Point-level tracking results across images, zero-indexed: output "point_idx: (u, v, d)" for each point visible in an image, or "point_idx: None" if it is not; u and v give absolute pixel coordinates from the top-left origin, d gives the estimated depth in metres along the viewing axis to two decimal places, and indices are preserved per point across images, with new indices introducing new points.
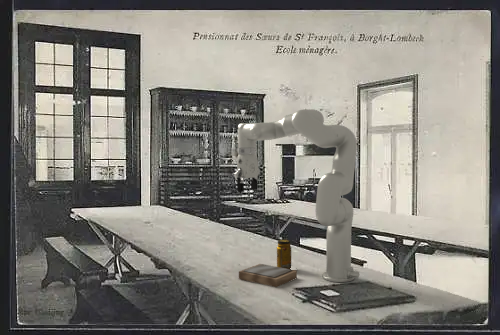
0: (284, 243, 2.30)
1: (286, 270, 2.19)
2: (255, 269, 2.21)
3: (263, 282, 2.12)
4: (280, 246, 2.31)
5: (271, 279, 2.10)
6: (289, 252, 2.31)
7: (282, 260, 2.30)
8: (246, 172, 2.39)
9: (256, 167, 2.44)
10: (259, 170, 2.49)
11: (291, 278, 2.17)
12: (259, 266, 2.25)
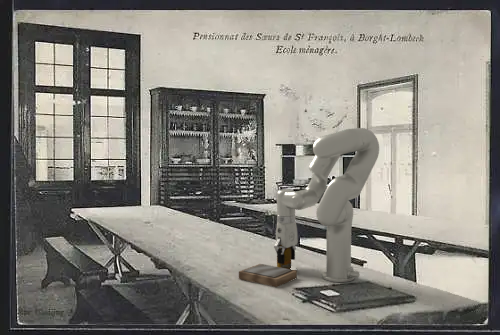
0: None
1: (286, 270, 2.19)
2: (255, 269, 2.21)
3: (263, 282, 2.12)
4: None
5: (271, 279, 2.10)
6: (289, 252, 2.31)
7: None
8: (286, 242, 2.28)
9: (295, 235, 2.33)
10: None
11: (291, 278, 2.17)
12: (259, 266, 2.25)
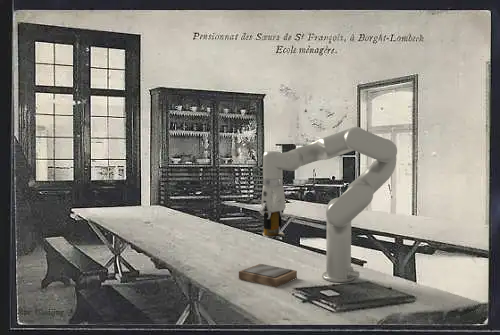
0: None
1: (286, 270, 2.19)
2: (255, 269, 2.21)
3: (263, 282, 2.12)
4: None
5: (271, 279, 2.10)
6: (276, 217, 2.20)
7: None
8: (271, 206, 2.16)
9: (282, 199, 2.22)
10: (284, 206, 2.27)
11: (291, 278, 2.17)
12: (259, 266, 2.25)
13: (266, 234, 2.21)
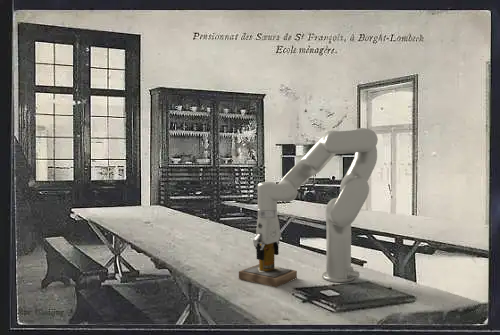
0: None
1: (286, 270, 2.19)
2: (255, 269, 2.21)
3: (263, 282, 2.12)
4: None
5: (271, 279, 2.10)
6: (272, 252, 2.17)
7: (264, 260, 2.17)
8: (267, 238, 2.13)
9: (277, 231, 2.19)
10: (280, 232, 2.24)
11: (291, 278, 2.17)
12: None
13: (262, 269, 2.18)
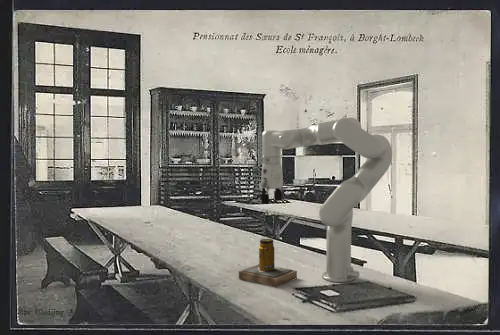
0: (266, 242, 2.16)
1: (286, 270, 2.19)
2: (255, 269, 2.21)
3: (263, 282, 2.12)
4: (262, 246, 2.17)
5: (271, 279, 2.10)
6: (272, 252, 2.17)
7: (264, 260, 2.17)
8: (271, 182, 2.25)
9: (281, 177, 2.30)
10: (282, 180, 2.36)
11: (291, 278, 2.17)
12: None
13: (262, 269, 2.18)
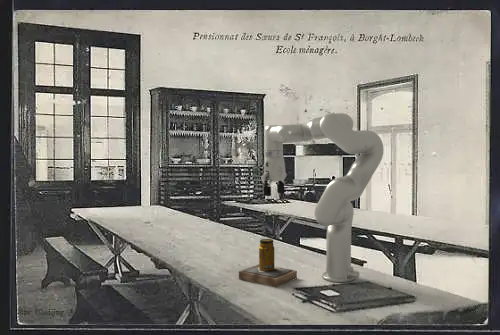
0: (266, 242, 2.16)
1: (286, 270, 2.19)
2: (255, 269, 2.21)
3: (263, 282, 2.12)
4: (262, 246, 2.17)
5: (271, 279, 2.10)
6: (272, 252, 2.17)
7: (264, 260, 2.17)
8: (273, 175, 2.32)
9: (283, 170, 2.38)
10: (286, 173, 2.43)
11: (291, 278, 2.17)
12: None
13: (262, 269, 2.18)
